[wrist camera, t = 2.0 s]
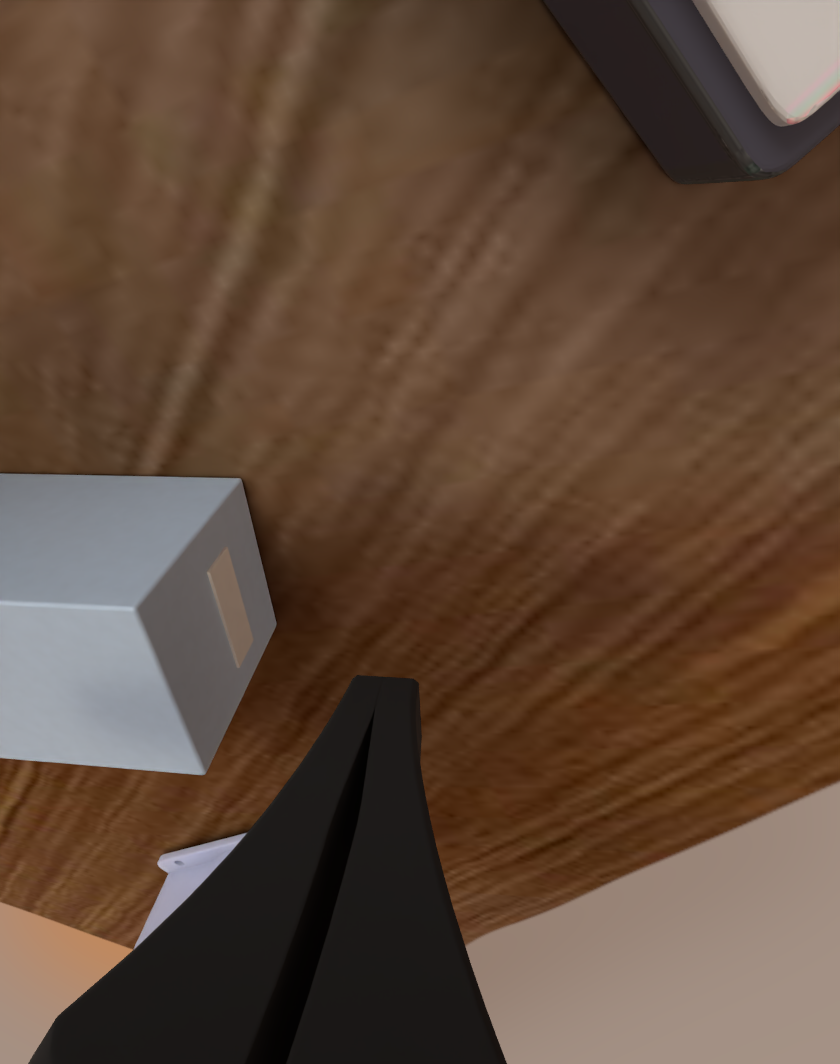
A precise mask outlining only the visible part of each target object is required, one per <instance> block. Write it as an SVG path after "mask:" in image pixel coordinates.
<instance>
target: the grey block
mask: <svg viewBox="0 0 840 1064" xmlns="http://www.w3.org/2000/svg"><path fill="white" fill-rule="evenodd" d="M276 625H277V623H276V619H275V615H274V611H273V607H272V603H271V599H270V594H269V590H268V586H267V582H266V578H265V574H264V570H263V566H262V561H261V557H260V553H259V549H258V545H257V541H256V537H255V533H254V528H253V524H252V520H251V516H250V512H249V508H248V504H247V500H246V496H245V491H244V487H243V483H242V480H241V479H240V478H204V477H154V476H104V475H53V474H3V473H0V758H8V759H20V760H31V761H43V762H55V763H67V764H78V765H90V766H102V767H113V768H125V769H137V770H149V771H160V772H172V773H184V774H195V775H205V773H206V772H207V770H208V768H209V766H210V764H211V762H212V759H213V757H214V755H215V753H216V751H217V749H218V747H219V745H220V743H221V741H222V739H223V736H224V734H225V732H226V730H227V728H228V726H229V724H230V722H231V720H232V718H233V715H234V713H235V711H236V709H237V707H238V705H239V703H240V701H241V699H242V697H243V695H244V692H245V690H246V688H247V686H248V684H249V682H250V680H251V678H252V676H253V674H254V671H255V669H256V667H257V665H258V663H259V661H260V659H261V657H262V655H263V653H264V651H265V648H266V646H267V644H268V642H269V640H270V638H271V636H272V634H273V632H274V630H275V627H276Z"/></svg>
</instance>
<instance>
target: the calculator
mask: <svg viewBox="0 0 840 1064" xmlns="http://www.w3.org/2000/svg"><path fill="white" fill-rule="evenodd" d="M543 1H544V3H545V4H546V6H547V7H548V8H549V10H550V11H551V13H552V14H553V15H554V17H555V18H556V20H557V21H558V22H559V24H560V25H561V27H562V28H563V29H564V31H565V32H566V34H567V35H568V36H569V38H570V39H571V41H572V42H573V43H574V45H575V46H576V48H577V49H578V50H579V52H580V53H581V55H582V56H583V57H584V59H585V60H586V62H587V63H588V64H589V66H590V67H591V69H592V70H593V71H594V73H595V74H596V76H597V77H598V79H599V80H600V81H601V83H602V84H603V86H604V87H605V88H606V90H607V91H608V93H609V94H610V95H611V97H612V98H613V100H614V101H615V102H616V104H617V105H618V107H619V108H620V109H621V111H622V112H623V114H624V115H625V116H626V118H627V119H628V121H629V122H630V123H631V125H632V126H633V128H634V129H635V130H636V132H637V133H638V135H639V136H640V137H641V139H642V140H643V142H644V143H645V144H646V146H647V147H648V149H649V150H650V151H651V153H652V154H653V156H654V157H655V158H656V160H657V161H658V163H659V164H660V165H661V167H662V168H663V170H664V171H665V172H666V173H667V175H668V176H669V177H670V178H671V179H672V180H674V181H675V182H677V183H681V184H703V183H720V182H736V181H752V180H763V179H769V178H773V177H776V176H778V175H780V174H782V173H783V172H785V171H787V170H788V169H789V168H791V167H792V166H793V165H795V164H796V163H797V162H798V161H799V160H800V159H802V158H803V157H804V156H805V155H806V154H807V153H808V152H810V151H811V150H812V149H813V148H814V147H815V146H816V145H818V144H819V143H820V142H821V141H822V140H823V139H824V138H825V137H827V136H828V135H829V134H830V133H831V132H832V131H833V130H834V129H835V128H837V127H838V126H839V125H840V0H543Z"/></svg>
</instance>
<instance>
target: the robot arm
mask: <svg viewBox="0 0 840 1064" xmlns="http://www.w3.org/2000/svg"><path fill="white" fill-rule="evenodd" d="M421 738H422V735H421V717H420V699H419V683H418V682H417V681H416V680H414V679H410V678H394V677H378V676H361V675H357V676H356V677H354V678H353V679H352V681H351V683H350V685H349V687H348V689H347V691H346V692H345V694H344V696H343V698H342V700H341V701H340V703H339V705H338V706H337V708H336V710H335V712H334V713H333V715H332V716H331V718H330V720H329V721H328V723H327V725H326V726H325V728H324V729H323V731H322V733H321V734H320V736H319V737H318V739H317V740H316V742H315V743H314V745H313V746H312V748H311V749H310V751H309V752H308V754H307V755H306V756H305V758H304V759H303V761H302V762H301V764H300V765H299V767H298V768H297V769H296V771H295V772H294V774H293V775H292V776H291V778H290V779H289V780H288V782H287V783H286V784H285V786H284V787H283V788H282V790H281V791H280V792H279V794H278V795H277V796H276V798H275V799H274V800H273V802H272V803H271V804H270V806H269V807H268V808H267V809H266V811H265V812H264V813H263V814H262V816H261V817H260V818H259V819H258V821H257V822H256V823H255V824H254V825H253V827H252V828H251V829H250V830H249V831H248V832H247V833H244V834H240V835H236V836H232V837H229V838H225V839H221V840H217V841H213V842H209V843H205V844H202V845H198V846H194V847H190V848H186V849H182V850H178V851H174V852H171V853H167V854H163V855H161V856H160V858H159V860H158V863H157V864H158V866H159V867H160V868H161V869H163V870H164V871H166V872H167V873H169V874H168V876H167V878H166V880H165V882H164V885H163V887H162V889H161V891H160V893H159V895H158V897H157V900H156V902H155V904H154V906H153V908H152V910H151V913H150V915H149V917H148V919H147V921H146V923H145V926H144V928H143V930H142V932H141V934H140V936H139V939H138V941H137V943H136V945H135V947H134V949H133V951H132V952H131V953H130V954H129V955H127V956H126V957H125V958H124V959H123V960H122V961H121V962H120V963H119V964H117V965H116V966H115V967H114V968H113V969H111V970H110V971H109V972H108V973H107V974H106V975H105V976H103V977H102V978H101V979H100V980H99V981H98V982H97V983H95V984H94V985H93V986H92V987H91V988H90V989H88V990H87V991H86V992H85V993H84V994H83V995H81V996H80V997H79V998H78V999H77V1000H76V1001H75V1002H74V1003H72V1004H71V1005H70V1006H69V1007H68V1008H66V1009H65V1010H64V1011H63V1012H62V1013H61V1014H60V1015H59V1016H58V1017H57V1018H56V1019H55V1021H54V1023H53V1024H52V1026H51V1028H50V1029H49V1031H48V1033H47V1034H46V1036H45V1037H44V1039H43V1041H42V1042H41V1044H40V1045H39V1047H38V1048H37V1050H36V1052H35V1054H34V1055H33V1057H32V1058H31V1060H30V1062H29V1063H28V1064H507V1063H506V1061H505V1058H504V1055H503V1052H502V1050H501V1047H500V1044H499V1042H498V1039H497V1037H496V1034H495V1031H494V1028H493V1026H492V1023H491V1020H490V1017H489V1015H488V1012H487V1010H486V1007H485V1004H484V1001H483V999H482V995H481V992H480V989H479V987H478V984H477V981H476V978H475V975H474V972H473V969H472V966H471V963H470V960H469V957H468V954H467V951H466V947H465V944H464V941H463V938H462V935H461V932H460V928H459V925H458V922H457V919H456V916H455V913H454V909H453V906H452V903H451V899H450V896H449V892H448V889H447V885H446V881H445V878H444V874H443V870H442V867H441V863H440V859H439V855H438V851H437V847H436V843H435V839H434V834H433V830H432V826H431V821H430V816H429V811H428V806H427V801H426V797H425V791H424V785H423V780H422V773H421V766H420V754H421Z"/></svg>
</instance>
